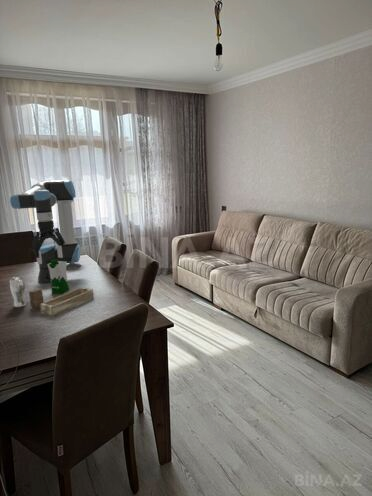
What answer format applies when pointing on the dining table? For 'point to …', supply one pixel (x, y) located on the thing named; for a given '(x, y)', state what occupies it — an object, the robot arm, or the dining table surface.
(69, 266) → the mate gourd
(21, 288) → the beer glass
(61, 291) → the milk carton
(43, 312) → the slot well
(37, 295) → the walnut post
